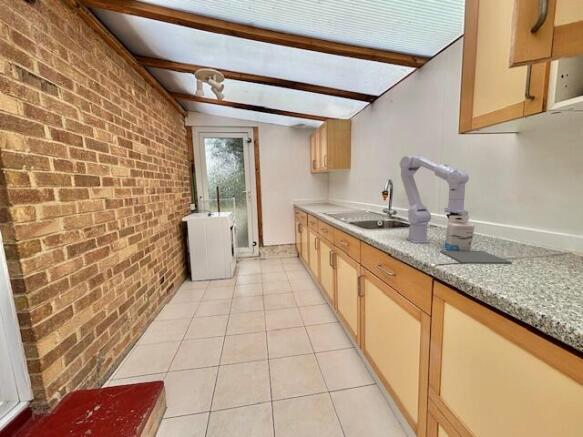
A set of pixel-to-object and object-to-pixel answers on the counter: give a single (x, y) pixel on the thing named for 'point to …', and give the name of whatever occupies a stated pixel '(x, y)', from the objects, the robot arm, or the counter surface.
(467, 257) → the mat
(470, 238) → the ink box
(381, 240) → the counter surface
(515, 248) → the counter surface
